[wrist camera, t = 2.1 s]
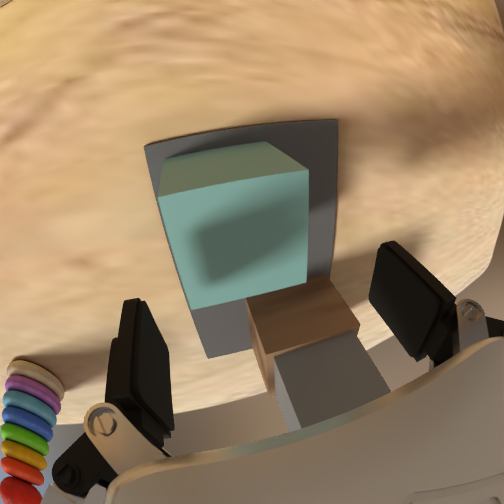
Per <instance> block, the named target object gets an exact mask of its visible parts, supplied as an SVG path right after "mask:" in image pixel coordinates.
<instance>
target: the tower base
mask: <svg viewBox="0 0 504 504" xmlns="http://www.w3.org/2000/svg"><path fill="white" fill-rule="evenodd" d="M245 303H246V309H247V316H248V322H249V329H250V335H251V342H252V347H253V350H254V353H255V356H256V359H257V362H258V365H259V368H260V371H261V374H262V377H263V380H264V383H265V385H266V388H267V391H268V394H269V397H270V398H271V397H274V396H276V394H275V377H274V358H273V357H274V356H278V355H281V354H285V353H288V352H292V351H295V350H298V349H301V348H305V347H308V346H311V345H314V344H317V343H320V342H323V341H326V340H329V339H332V338H335V337H338V336H340V335H343V334H346V333H349V332H351V331H354V333H355V334H356V336H357V334H358V331H359V327H360V323H359V321H358V320H357V318H356V317H355V315H354V314H353V313H352V311H351V310H350V308H349V307H348V305H347V304H346V302H345V301H344V300H343V298H342V297H341V295H340V294H339V293H338V291H337V290H336V288H335V287H334V285H333V284H332V283H331V281H330V280H329V279H328V277H327V276H326V274H322V275H318V276H315V277H311V278H307V280H306V283H302V284H299V285H295V286H291V287H287V288H283V289H279V290H275V291H271V292H267V293H263V294H259V295H255V296H251V297H247V298H245Z"/></svg>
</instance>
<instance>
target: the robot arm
mask: <svg viewBox="0 0 504 504" xmlns="http://www.w3.org/2000/svg"><path fill="white" fill-rule="evenodd" d="M9 1H11V0H0V7H1V6H3V5H4V4H6V3H8V2H9ZM455 300H456V297H455V296H454V295H453V294H452V293H451V292H450V291H449V290H448V289H447V288H446V287H445V286H444V285H443V284H442V283H441V282H440V281H439V280H438V279H437V278H436V277H435V276H434V275H432V274H431V273H430V272H429V271H428V270H427V269H426V268H425V267H424V266H423V265H422V264H421V263H420V262H419V261H417V260H416V259H415V258H414V257H413V256H412V255H411V254H410V253H409V252H407V251H406V250H405V249H404V248H403V247H402V246H401V245H399V244H398V243H397V242H396V241H389V242H385V243H382V244H381V246H380V248H379V249H378V252H377V257H376V263H375V268H374V273H373V278H372V282H371V287H370V292H369V301H370V303H371V304H372V306H373V307H374V308H375V310H376V311H377V312H378V314H379V315H380V316H381V317H382V319H383V320H384V321H385V323H386V324H387V325H388V327H389V328H390V329H391V331H392V332H393V333H394V335H395V336H396V337H397V339H398V340H399V342H400V343H401V344H402V346H403V347H404V348H405V350H406V351H407V353H408V354H409V355H410V356H411V357H414V359H415V360H416V361H417V362H418V361H420V360H421V359H423V358H425V357H426V356H427V355H428V356H429V357H430V362H429V372H427V373H425V374H424V375H422V376H420V377H418V378H417V379H415V380H413V381H411V382H409V383H407V384H406V385H404V386H402V387H400V388H398V389H396V390H394V391H392V392H390V393H388V394H386V395H384V396H382V397H380V398H378V399H376V400H373V401H371V402H369V403H367V404H365V405H362V406H360V407H358V408H355V409H353V410H351V411H348V412H346V413H343V414H341V415H338V416H336V417H333V418H330V419H328V420H325V421H322V422H319V423H316V424H313V425H311V426H308V427H304V428H301V429H298V430H295V431H292V432H289V433H285V434H281V435H278V436H274V437H271V438H267V439H263V440H259V441H254V442H250V443H246V444H241V445H236V446H232V447H227V448H222V449H217V450H211V451H204V452H198V453H192V454H186V455H180V456H174V457H172V456H171V455H170V454H169V453H168V452H167V451H165V449H163V448H162V447H163V446H164V441H163V439H164V438H171V432H170V431H173V430H174V419H173V407H172V395H171V380H170V362H169V351H168V347H167V345H166V343H165V341H164V339H163V337H162V335H161V333H160V331H159V329H158V327H157V325H156V323H155V321H154V318H153V316H152V314H151V312H150V310H149V308H148V305H147V303H146V302H145V301H141V300H140V299H139V298H135V299H130V300H125V301H124V303H123V308H122V314H121V320H120V326H119V333H118V338H114V339H113V340H112V343H111V349H110V356H109V364H108V372H107V381H106V392H105V403H98V404H96V405H94V406H92V407H91V408H90V409H89V410H88V411H87V413H86V415H85V417H84V423H83V424H84V430H85V433H84V434H83V435H82V436H81V437H79V438H78V439H77V441H75V442H74V444H72V445H71V447H69V448H68V449H67V450H66V451H65V452H64V453H63V454H62V455H61V456H60V457H59V458H58V459H57V460H56V462H55V463H54V465H53V468H52V477H53V480H54V483H53V485H51V484H49V486H48V488H47V490H46V492H45V495H44V497H43V499H42V501H41V503H40V504H504V321H502V320H498V319H494V318H490V317H486V316H485V313H484V310H483V309H482V307H481V306H480V305H479V304H478V303H477V302H475V301H473V300H470V299H463V300H460V301H459V302H458V304H457V305H456V304H455V303H454V302H455Z"/></svg>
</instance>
